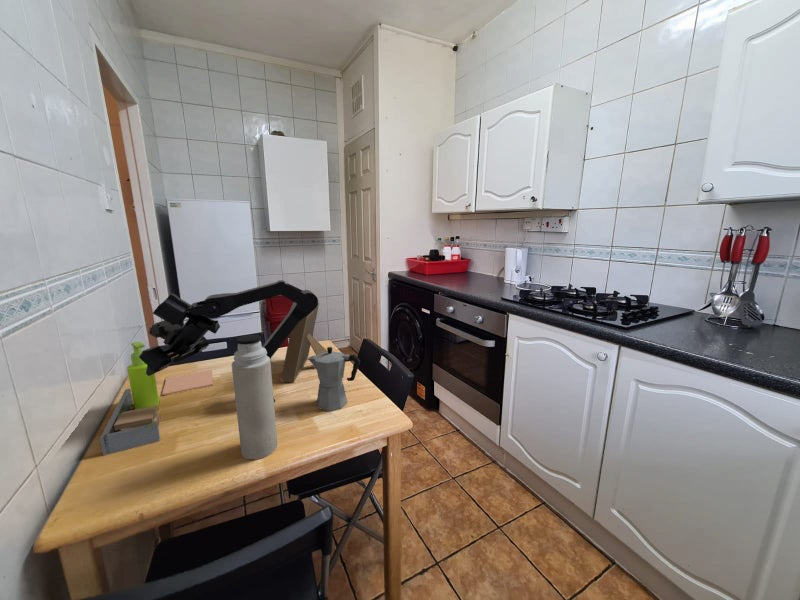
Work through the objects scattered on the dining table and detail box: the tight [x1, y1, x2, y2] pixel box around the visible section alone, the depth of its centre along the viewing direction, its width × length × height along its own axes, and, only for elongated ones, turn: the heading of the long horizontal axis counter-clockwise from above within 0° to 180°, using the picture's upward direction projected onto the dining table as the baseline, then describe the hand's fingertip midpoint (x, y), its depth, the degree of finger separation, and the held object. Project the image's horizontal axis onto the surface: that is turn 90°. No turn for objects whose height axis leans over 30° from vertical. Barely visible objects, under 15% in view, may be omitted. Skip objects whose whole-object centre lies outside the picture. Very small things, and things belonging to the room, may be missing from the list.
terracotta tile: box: [161, 369, 214, 397], centre depth 112 cm, size 14×14×1 cm
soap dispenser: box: [126, 341, 160, 410], centre depth 94 cm, size 6×7×20 cm
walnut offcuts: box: [114, 405, 162, 431], centre depth 85 cm, size 8×8×4 cm
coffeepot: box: [307, 346, 361, 412], centre depth 96 cm, size 15×9×18 cm, turn 90°
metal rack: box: [99, 388, 161, 456], centre depth 88 cm, size 28×11×4 cm, turn 31°
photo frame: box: [280, 302, 328, 384], centre depth 120 cm, size 15×22×25 cm
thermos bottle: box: [231, 334, 278, 460], centre depth 74 cm, size 8×8×28 cm
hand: (161, 367), depth 92 cm, fingers open, 9 cm apart
